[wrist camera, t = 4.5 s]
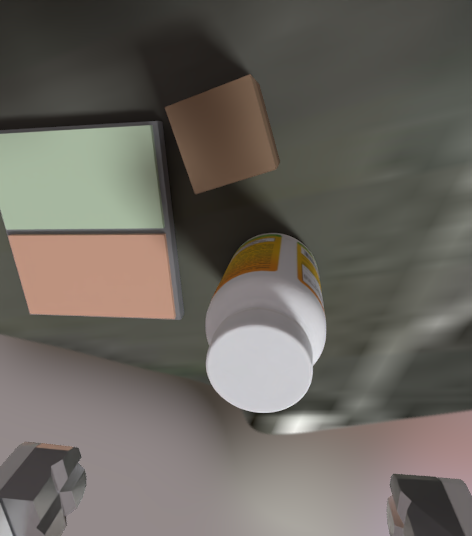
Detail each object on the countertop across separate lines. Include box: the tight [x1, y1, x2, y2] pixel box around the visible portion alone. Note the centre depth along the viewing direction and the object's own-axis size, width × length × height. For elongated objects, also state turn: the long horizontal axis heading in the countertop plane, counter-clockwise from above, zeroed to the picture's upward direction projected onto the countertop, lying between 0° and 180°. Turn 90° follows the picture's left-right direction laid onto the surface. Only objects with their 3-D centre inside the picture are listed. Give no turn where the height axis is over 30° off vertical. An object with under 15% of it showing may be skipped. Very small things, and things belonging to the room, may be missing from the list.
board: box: [0, 121, 184, 320], centre depth 22 cm, size 11×12×1 cm
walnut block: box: [165, 74, 280, 194], centre depth 18 cm, size 4×4×4 cm
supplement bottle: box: [205, 233, 326, 413], centre depth 18 cm, size 5×5×10 cm
